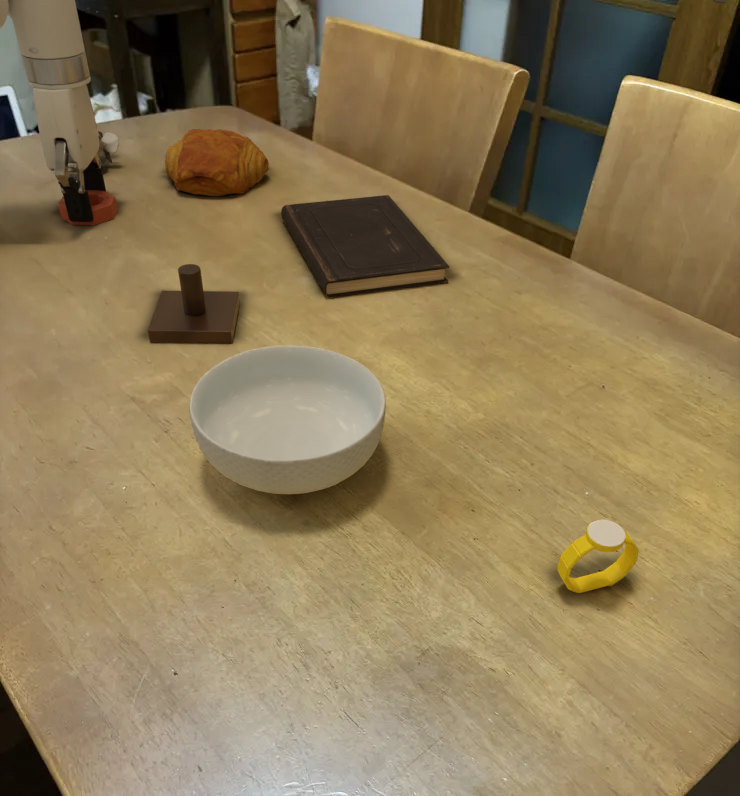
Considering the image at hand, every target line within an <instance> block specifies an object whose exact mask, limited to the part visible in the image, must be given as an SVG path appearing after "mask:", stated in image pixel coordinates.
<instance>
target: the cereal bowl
mask: <svg viewBox="0 0 740 796" xmlns="http://www.w3.org/2000/svg"><path fill="white" fill-rule="evenodd" d="M188 408H189V410H188V411H189V419H190V423H191V429H192V432H193V435H194V438H195V442H196V443H197V445H198V447H199V450H200V451H201V453H202V455H203V457H204V458H206V460H207V462H208V463H210V465H211V466H212V467H213V468H214V469H215V470H217V471H218V472H219V473H220V474H221V475H223V476H224V477H225V478H226V479H230V480H231V481H232V482H234V483H235V484H238V485H240V486H241V487H246V488H248V489H251V490H255V491H258V492H261V493H266V494H276V495H300V494H302V495H303V494H306V493H307V494H309V493H313V492H317V491H321V490H325V489H328V488H331V487H334V486H336V485H337V484H339V483H341V482H344V481H345V480H346V479H348V478H351V477H352V476H353V475H354V474H355V473H357V472H358V471H359V470H360V469H361V468H362V467H363V466H365V465H366V463H367V462H368V461H369V460H370V458H371V457H372V456H373V455H374V453H375V450H376V449H377V447H378V444H379V443H380V441H381V437H382V433H383V430H384V427H385V425H384V424H385V418H386V408H387V399H386V393H385V390H384V387H383V385H382V383H381V381H380V380H379V378H378V377H377V376H376V375H375V374H374V373H373V372H372V371H371V370H370V369H369V368H368V367H366V366H365V365H363V363H360V362H359V361H357V360H355V359H353V358H352V357H350V356H347V355H345V354H343V353H340V352H337V351H334V350H329V349H327V348H322V347H316V346H309V345H301V344H300V345H298V344H281V345H280V344H279V345H271V346H262V347H256V348H253V349H249V350H245V351H242V352H239V353H237V354H234V355H232V356H229V357H228V358H225V359H224V360H222V361H220V362H218V363H217V364H215V365H213V366H212V367H211V368H210V369H208V370H207V371H206V372H205V373H204V374H203V375H202V376H201V377H200V378H199V379H198V381H197V383H196V384H195V386H194V387H193V389H192V392H191V395H190V399H189V407H188Z"/></svg>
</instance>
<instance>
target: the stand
mask: <svg viewBox="0 0 740 796" xmlns="http://www.w3.org/2000/svg"><path fill="white" fill-rule="evenodd" d="M177 273H178V279H179V287H180V290H161V292H160V295H159V298H158V299H157V300H158V301H157V303H156V306H155V308H154V311H153V315H152V317H151V320H150V323H149V326H148V329H147V334H148V340H149V343H178V344H179V343H182V344H184V343H185V344H188V343H190V344H198V343H199V344H232V343H233V340H234V334H235V329H236V326H237V325H236V324H237V320H238V314H239V310H240V305H241V300H240V291H222V290H221V291H219V290H218V291H217V290H216V291H215V290H212V291H211V290H204V285H203V278H202V270H201V267H200V266H199V265H197V264H195V263H187V264H186V263H185V264H183V265H180V266H179V267H178V269H177Z"/></svg>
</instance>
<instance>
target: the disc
mask: <svg viewBox="0 0 740 796" xmlns="http://www.w3.org/2000/svg"><path fill="white" fill-rule="evenodd" d="M85 191H88V195H89V199H90V203H91V208H92V212H93V217H94V219H93V221H92V222H72V221H70V220H69V217H68V213H67V209H66V205H65V201H64V197H63V196H62V198H61V199H60V200H59V201H58V203H57V206H58V210H59V214H60V217H61V219H62V220H64V221H65V222H67V223H68V224H71V225H74V226H96V225H99V224H103V223H104V222H107V221H111V220H114V218H115V217H116V215H117V212H118V211H119V209H118V204H117V199H116V196H115V195H113V194H111V193H109V192H107V191H106V192H105V191H99V190H85Z"/></svg>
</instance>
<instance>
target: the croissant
mask: <svg viewBox="0 0 740 796" xmlns="http://www.w3.org/2000/svg"><path fill="white" fill-rule="evenodd" d="M165 153H166V154H165V159H164V163H165V164H164V166H165V170H166V171H165V172H166V175H167V178H169V179H170V180H172V181H173V182H174V186H175V188H176V190H177V191H181V192H185V193H187V194H192V195H202V196H209V197H222V196H226V195H231V194H234V195H237V194H238V195H240V194H244V193H245V192H249V189H250V188H253V187H254V186H255V185H256V184H257V183H260V181H261V180H262V179H263V178H264V175H265V174H266V173H267V172H268V171H269V166H270V163H269V159H268V158H267V156H266V155H265V153H264V152H263V151H262V150H261V149H260V148H259V147H258V146H257V145H256V143H254V142H253V141H252V139H251V138H249V137H248V136H244V135H242V134H240V133H237V132H235V131H232V130H227V129H212V128H211V129H209V128H208V129H202V128H198V129H197V128H196V129H189V130H188V131H186V132H185V133H184V135H183V136H182V138H181V139H180V140H178V141H177V142H175V143H174V144H173V145H169V147H167V150H166V152H165Z"/></svg>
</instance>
